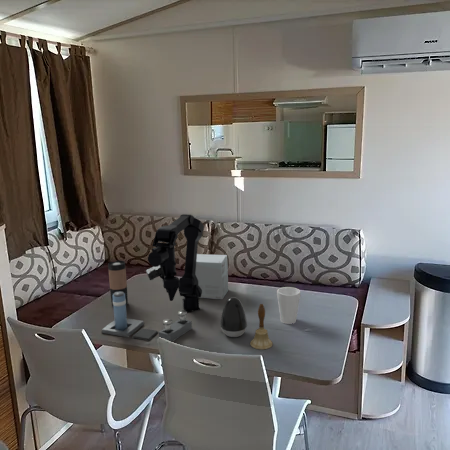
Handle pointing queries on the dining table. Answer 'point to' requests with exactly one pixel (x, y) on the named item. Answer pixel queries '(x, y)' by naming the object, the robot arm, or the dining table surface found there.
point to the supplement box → (212, 275)
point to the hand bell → (261, 333)
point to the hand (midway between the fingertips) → (169, 296)
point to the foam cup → (288, 304)
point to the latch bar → (176, 330)
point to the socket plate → (132, 327)
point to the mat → (145, 334)
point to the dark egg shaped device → (233, 318)
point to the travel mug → (117, 278)
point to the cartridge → (120, 311)
